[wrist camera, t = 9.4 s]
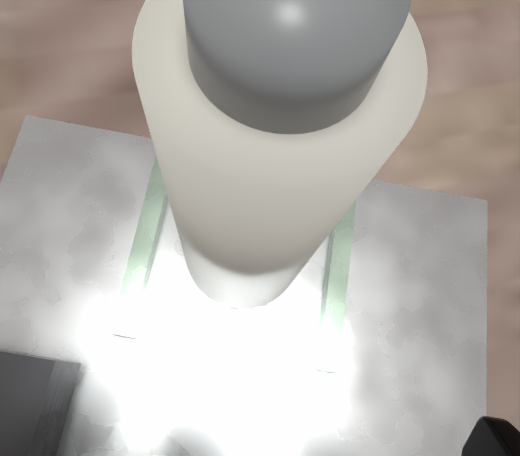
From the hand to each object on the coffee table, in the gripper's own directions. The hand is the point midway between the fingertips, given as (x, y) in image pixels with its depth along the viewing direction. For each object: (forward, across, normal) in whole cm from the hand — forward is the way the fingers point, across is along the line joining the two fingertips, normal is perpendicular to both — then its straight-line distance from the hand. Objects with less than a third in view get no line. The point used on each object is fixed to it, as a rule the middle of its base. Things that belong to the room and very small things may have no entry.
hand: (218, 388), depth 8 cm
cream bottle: (+12, 0, +4) cm, 12 cm away
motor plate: (+11, 0, +8) cm, 14 cm away
